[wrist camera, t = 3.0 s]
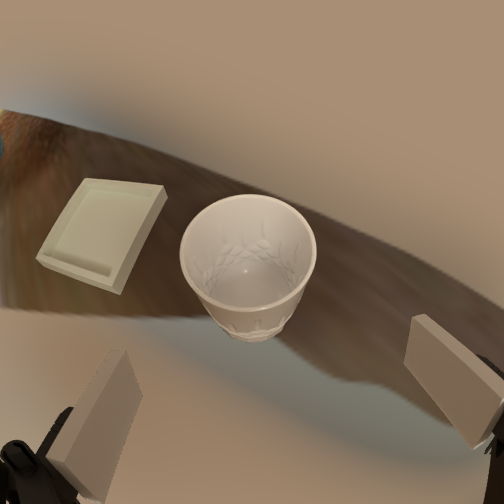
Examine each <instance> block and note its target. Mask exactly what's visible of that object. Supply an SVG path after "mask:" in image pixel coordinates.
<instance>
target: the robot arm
mask: <svg viewBox="0 0 504 504" xmlns="http://www.w3.org/2000/svg"><path fill="white" fill-rule="evenodd" d="M3 153H4V142H3V138H2V135H1V132H0V159H1V158H2V156H3ZM404 365H405V366H406V367H407V368H408V370H409V371H410V372H411V373H412V374H413V376H414V377H415V378H416V379H417V380H418V382H419V383H420V384H421V385H422V387H423V388H424V389H425V390H426V391H427V393H428V394H429V395H430V396H431V398H432V399H433V400H434V401H435V403H436V404H437V405H438V406H439V408H440V409H441V410H442V411H443V413H444V414H445V415H446V417H447V418H448V419H449V420H450V422H451V423H452V424H453V426H454V427H455V428H456V430H457V431H458V432H459V433H460V435H461V436H462V437H463V439H464V440H465V441H466V443H467V444H468V445H469V447H470V448H471V449H472V450H474V449H475V448H477V447H478V446H480V445H482V444H483V443H485V442H486V440H487V439H488V437H489V436H490V434H491V432H493V434H494V435H495V437H494V438H493V440H492V441H491V443H490V444H489V446H488V447H487V448H486V450H485V453H484V454H487V453H488V451H489V450H490V448H491V447H492V449H491V452H490V454H491V460H490V468H489V475H488V482H487V487H486V492H485V498H484V502H483V504H504V373H503V372H502V371H500V369H499V368H498V367H496V366H494V364H493V363H492V362H491V361H489V360H488V359H487V358H485V357H482V356H480V355H478V354H477V355H474V354H473V353H472V352H471V351H470V350H468V349H467V348H466V347H465V346H464V345H462V344H461V343H460V342H459V341H458V340H456V339H455V338H454V337H453V336H452V335H450V334H449V333H448V332H447V331H445V330H444V329H443V328H442V327H441V326H439V325H438V324H437V323H436V322H434V321H433V320H432V319H430V318H429V317H428V316H427V315H425V314H422V315H418V316H414V317H412V321H411V328H410V334H409V339H408V345H407V350H406V355H405V360H404ZM142 397H143V395H142V392H141V390H140V387H139V384H138V382H137V379H136V377H135V374H134V371H133V368H132V366H131V363H130V360H129V357H128V354H127V351H126V350H111V352H110V353H109V355H108V356H107V358H106V359H105V361H104V362H103V364H102V365H101V367H100V368H99V370H98V371H97V373H96V374H95V376H94V377H93V379H92V380H91V382H90V383H89V385H88V387H87V388H86V390H85V391H84V393H83V394H82V396H81V398H80V399H79V401H78V402H77V404H76V405H75V407H68V408H67V409H65V410H64V411H63V412H62V413H61V414H60V415H59V417H58V418H57V420H56V421H55V424H54V425H53V426H52V427H51V429H50V430H51V431H49V432H48V434H47V436H46V437H45V439H44V441H43V442H42V444H41V446H40V447H39V449H38V451H37V453H36V454H34V452H33V451H32V450H31V449H30V448H29V446H28V445H27V444H26V443H25V442H24V441H21V440H13V441H10V442H8V443H7V444H6V445H4V446H3V448H2V450H1V452H0V453H1V454H0V457H1V459H2V460H3V461H4V462H5V463H4V462H2V461H1V460H0V504H6V500H7V501H8V502H9V504H80V502H79V501H78V500H77V498H76V497H77V495H78V493H80V494H81V495H82V497H84V498H85V499H86V500H88V501H91V502H95V503H98V504H104V503H105V500H106V496H107V494H108V490H109V488H110V484H111V481H112V478H113V475H114V473H115V469H116V467H117V464H118V461H119V458H120V455H121V452H122V450H123V447H124V444H125V441H126V438H127V436H128V433H129V431H130V428H131V425H132V423H133V420H134V417H135V415H136V412H137V409H138V407H139V404H140V402H141V399H142Z"/></svg>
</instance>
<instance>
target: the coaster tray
mask: <svg viewBox="0 0 504 504" xmlns="http://www.w3.org/2000/svg"><path fill="white" fill-rule="evenodd" d="M167 198H168V197H167V194H166V191H165V189H164V186H161V185H153V184H144V183H135V182H125V181H115V180H104V179H92V178H85V179H84V180H83V182H82V183H81V184H80V186H79V187H78V189H77V190H76V192H75V193H74V194H73V196H72V197H71V199H70V200H69V202H68V203H67V205H66V207H65V208H64V210H63V211H62V213H61V214H60V216H59V218H58V219H57V221H56V222H55V224H54V226H53V228H52V229H51V231H50V233H49V234H48V236H47V238H46V240H45V241H44V243H43V245H42V247H41V249H40V251H39V252H38V254H37V256H36V258H35V259H37V260H38V261H39V262H40V263H41V264H42V265H43V266H44V267H46V268H49V269H51V270H54V271H56V272H59V273H61V274H64V275H66V276H69V277H71V278H74V279H77V280H79V281H82V282H85V283H87V284H90V285H93V286H96V287H99V288H101V289H104V290H107V291H110V292H113V293H116V294H119V295H121V293H122V291H123V288H124V286H125V284H126V281H127V279H128V277H129V275H130V272H131V270H132V268H133V266H134V264H135V262H136V259H137V257H138V255H139V253H140V251H141V249H142V247H143V245H144V243H145V241H146V239H147V237H148V235H149V233H150V231H151V229H152V227H153V225H154V223H155V221H156V219H157V217H158V215H159V213H160V211H161V209H162V207H163V205H164V204H165V202H166V200H167Z"/></svg>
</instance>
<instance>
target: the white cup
mask: <svg viewBox="0 0 504 504" xmlns="http://www.w3.org/2000/svg"><path fill="white" fill-rule="evenodd" d="M315 262H316V242H315V238H314V234H313V232H312V230H311V228H310V226H309V224H308V223H307V221H306V220H305V219H304V217H303V216H302V215H301V214H300V213H299V212H298V211H296V210H295V209H294V208H293V207H291V206H290V205H288V204H286V203H284V202H282V201H280V200H278V199H275V198H272V197H268V196H264V195H256V194H244V195H236V196H231V197H227V198H224V199H221V200H219V201H217V202H215V203H213V204H211V205H209V206H208V207H206V208H205V209H203V210H202V211H201V212H200V213H199V214H198V215H197V216H196V217H195V218H194V219H193V220H192V221H191V223H190V224H189V225H188V227H187V229H186V231H185V233H184V235H183V238H182V241H181V245H180V264H181V268H182V271H183V274H184V276H185V278H186V280H187V282H188V283H189V285H190V286H191V288H192V289H193V291H194V292H195V294H196V295H197V297H198V298H199V300H200V301H201V303H202V304H203V306H204V307H205V309H206V310H207V312H208V313H209V314H210V315H211V317H212V318H213V319H214V321H215V322H216V323H217V324H218V325H219V326H220V327H221V328H222V329H223V330H224V331H225V332H226V333H227V334H228V335H229V336H230V337H231V338H234V339H237V340H240V341H244V342H246V343H254V342H261V341H267V340H269V339H270V338H272V337H273V336H275V335H276V334H278V333H279V332H281V331H282V329H283V328H284V326H285V324H286V322H287V321H288V320H289V318H290V317H291V316H292V314H293V312H294V310H295V308H296V306H297V305H298V303H299V301H300V299H301V296H302V294H303V292H304V290H305V287H306V285H307V283H308V280H309V278H310V276H311V274H312V272H313V269H314V266H315Z"/></svg>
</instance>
